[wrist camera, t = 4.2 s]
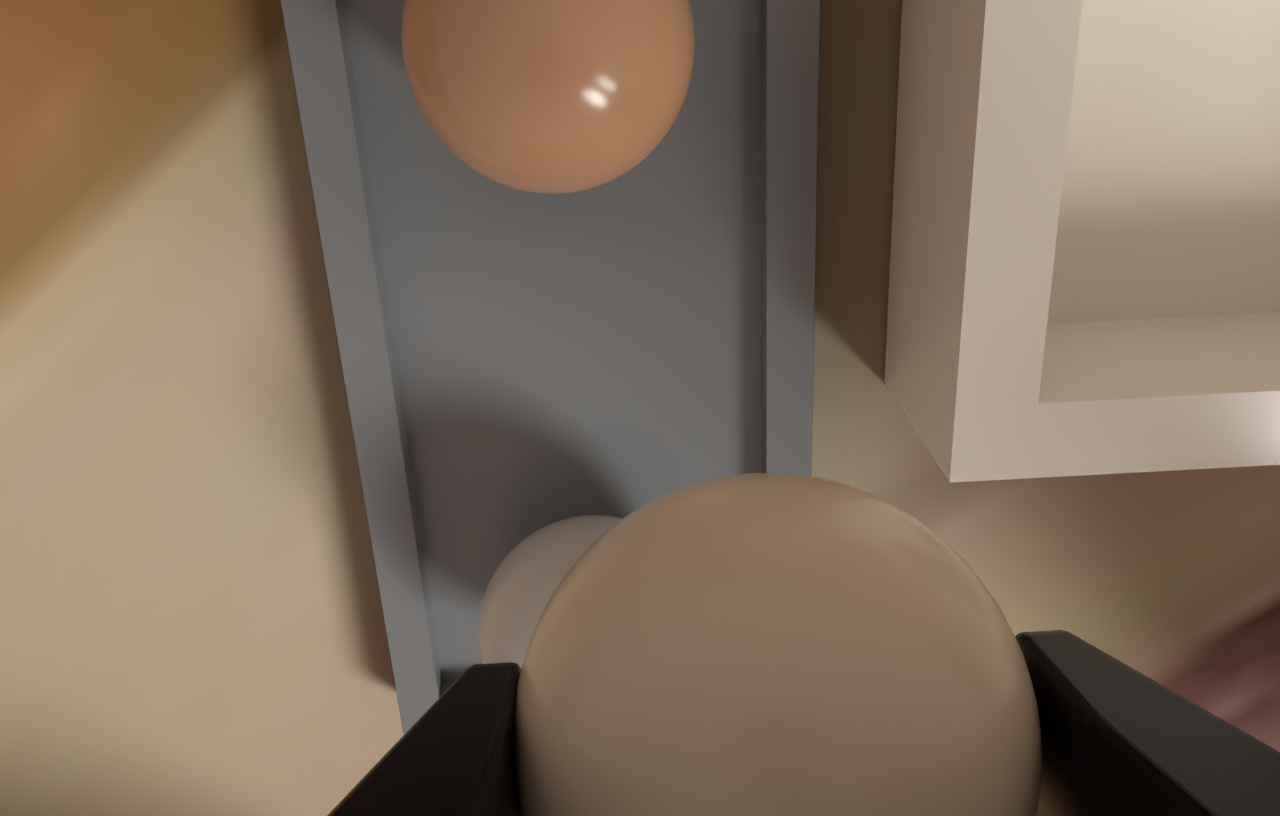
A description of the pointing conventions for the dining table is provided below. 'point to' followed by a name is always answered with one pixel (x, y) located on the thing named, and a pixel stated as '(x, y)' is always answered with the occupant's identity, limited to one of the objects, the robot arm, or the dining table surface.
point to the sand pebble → (774, 666)
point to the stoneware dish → (1087, 235)
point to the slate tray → (556, 309)
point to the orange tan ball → (549, 84)
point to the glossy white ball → (531, 584)
